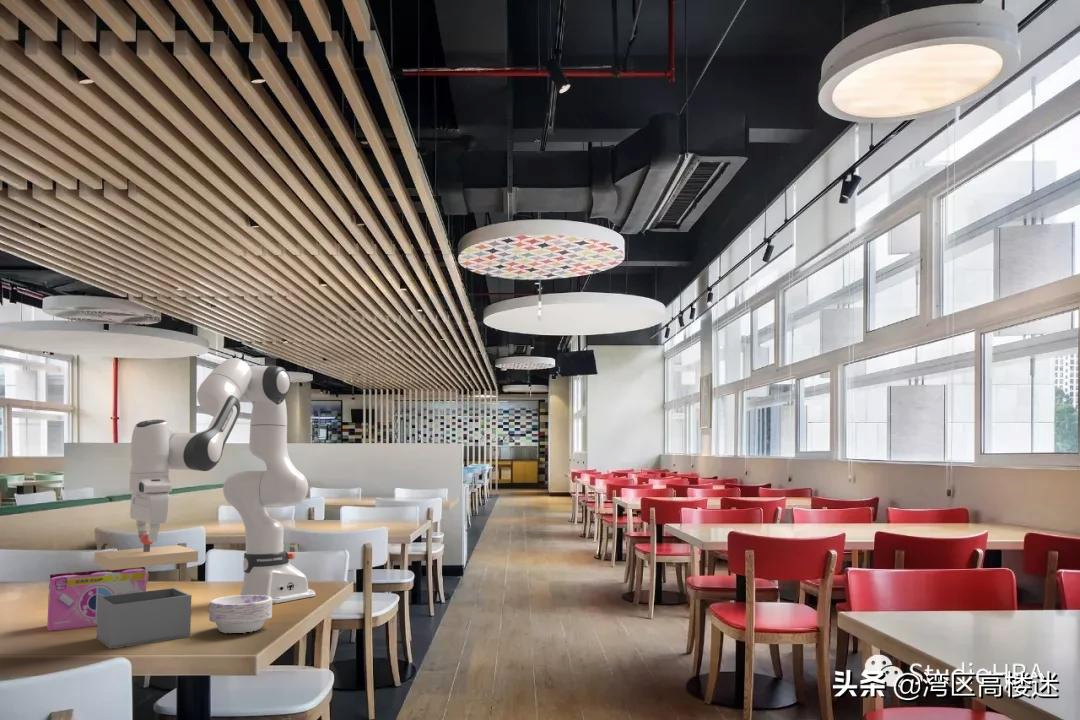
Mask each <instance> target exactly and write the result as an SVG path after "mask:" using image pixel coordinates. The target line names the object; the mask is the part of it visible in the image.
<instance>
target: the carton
mask: <svg viewBox="0 0 1080 720" xmlns="http://www.w3.org/2000/svg"><path fill="white" fill-rule="evenodd" d="M191 621H192V594H189V593H187V592H185V591H183V590H180V589H178V588H176V587H172V588H171V587H170V588H163V589H155V590H154V589H153V590H146V591H143V592H135V593H127V594H118V595H110V596H102V597H98V613H97V626H96V639H97V640H98V641H99V642H101V643H102V644H103V645H104V644H105V647H107V648H108V647H109V648H108V649H110V650H112V649H111V648H114V649H119V647H120V648H124V646H126V647H132V646H137V645H145V644H151V643H156V642H164V641H169V640H175V639H183V638H190V637H191V627H192V626H191Z"/></svg>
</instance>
